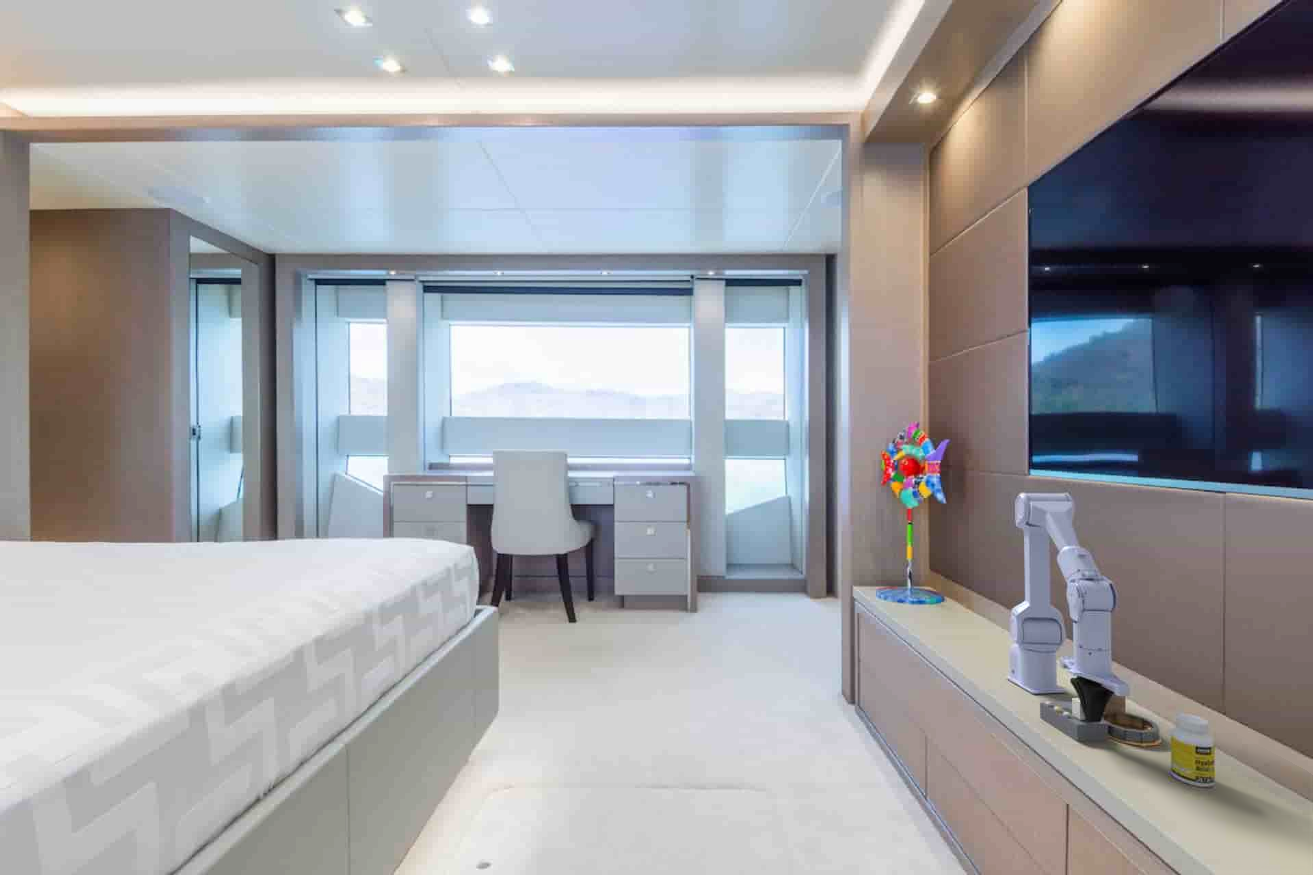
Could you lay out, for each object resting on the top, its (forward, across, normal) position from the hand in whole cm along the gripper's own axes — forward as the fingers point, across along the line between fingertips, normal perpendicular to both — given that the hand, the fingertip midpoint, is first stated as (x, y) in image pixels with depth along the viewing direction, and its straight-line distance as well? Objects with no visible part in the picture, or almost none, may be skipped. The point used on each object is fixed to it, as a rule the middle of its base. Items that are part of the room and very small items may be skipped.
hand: (1093, 720), depth 117 cm
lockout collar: (+4, -2, +8) cm, 10 cm away
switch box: (+4, -5, 0) cm, 6 cm away
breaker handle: (+1, -3, 0) cm, 3 cm away
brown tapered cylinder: (+4, -10, +12) cm, 16 cm away
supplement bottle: (+4, +14, +6) cm, 16 cm away
